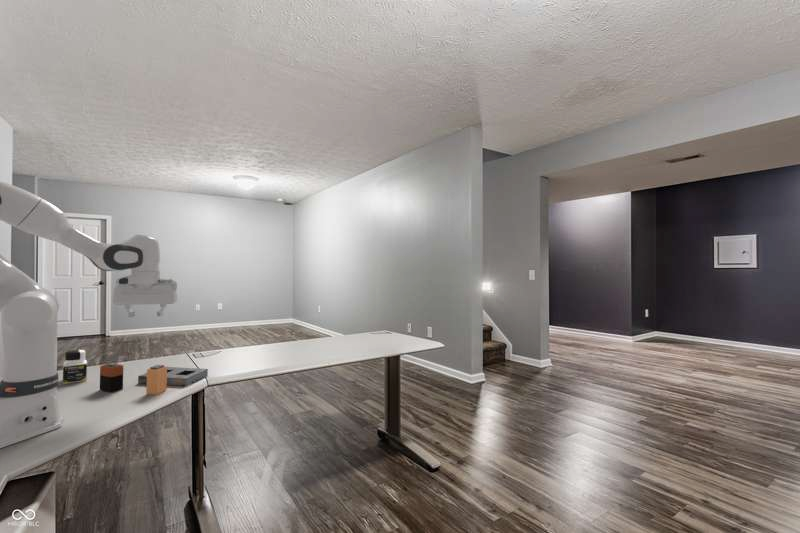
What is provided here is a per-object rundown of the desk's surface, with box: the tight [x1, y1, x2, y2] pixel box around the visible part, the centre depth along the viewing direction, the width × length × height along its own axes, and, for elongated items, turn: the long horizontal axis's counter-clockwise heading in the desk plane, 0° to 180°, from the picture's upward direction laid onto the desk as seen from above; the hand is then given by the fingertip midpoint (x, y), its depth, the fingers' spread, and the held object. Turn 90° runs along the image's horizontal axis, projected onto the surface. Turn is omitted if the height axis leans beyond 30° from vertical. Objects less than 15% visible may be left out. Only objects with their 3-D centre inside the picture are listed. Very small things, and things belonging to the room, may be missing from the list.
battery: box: [99, 361, 124, 393], centre depth 139 cm, size 4×7×10 cm, turn 70°
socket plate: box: [137, 366, 209, 386], centre depth 153 cm, size 14×20×3 cm
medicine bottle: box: [62, 349, 88, 385], centre depth 149 cm, size 7×7×12 cm
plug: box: [146, 364, 168, 396], centre depth 138 cm, size 5×4×10 cm
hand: (145, 316), depth 138 cm, fingers open, 8 cm apart
